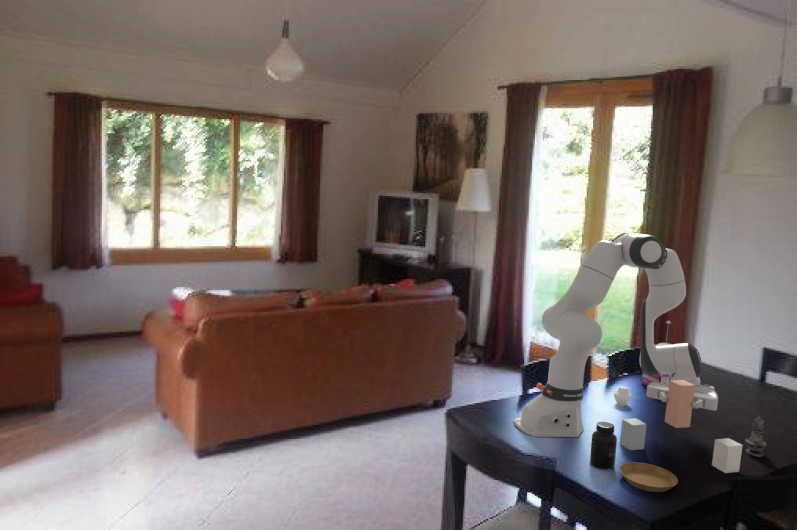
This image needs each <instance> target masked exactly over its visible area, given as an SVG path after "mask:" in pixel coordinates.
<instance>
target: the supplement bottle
mask: <svg viewBox="0 0 797 530" xmlns="http://www.w3.org/2000/svg"><path fill="white" fill-rule="evenodd" d="M595 427H596V428H595V431H594V432H593V433H592V435H591V445H590V456H589V457H590V458H589V462H590V464H591V465H592V466H593V467H595V468H597V469H599V470H600V469H601V470H610V469H613V468H614V467H615V466H616V465H615V464H616V456H617V455H616V454H617V443H618V438H617V436H616V434H615V425H614V424H613V423H610V422H608V421H599V422H597V423H596V426H595Z"/></svg>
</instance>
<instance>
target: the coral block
mask: <svg viewBox="0 0 797 530" xmlns="http://www.w3.org/2000/svg"><path fill="white" fill-rule="evenodd" d="M694 391H695V385H693V384H691V383H689V382H687V381H684V380H671V381H670V382H669V390H668V398H667V403H666V407H665V413H664V414H665V415H664V422H665V423H666V424H668V425H670V426H672V427H674V428H676V429H680V428H690V427H691V421H692V412H693V408H692V405H693V399H694Z"/></svg>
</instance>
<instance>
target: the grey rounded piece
mask: <svg viewBox="0 0 797 530" xmlns="http://www.w3.org/2000/svg"><path fill="white" fill-rule="evenodd" d="M613 396H614V400H615V402H616V405H618V406H621V407H626V406H627V405H628V404H629V403H630V401H631V400H632V394H631V393H630V391H629V388H628V387H626V386H619V387H618V389H617V390H616V391H615V392H614V393H613Z"/></svg>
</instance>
